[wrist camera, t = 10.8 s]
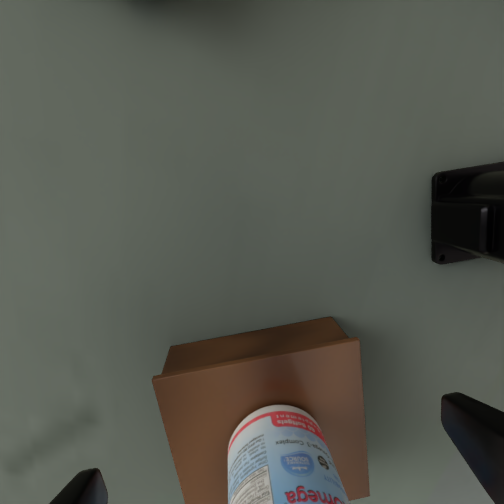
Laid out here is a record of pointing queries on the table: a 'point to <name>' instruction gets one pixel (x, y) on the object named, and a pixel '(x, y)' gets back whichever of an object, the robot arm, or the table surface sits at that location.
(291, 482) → the pill bottle
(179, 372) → the walnut platform
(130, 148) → the table surface
